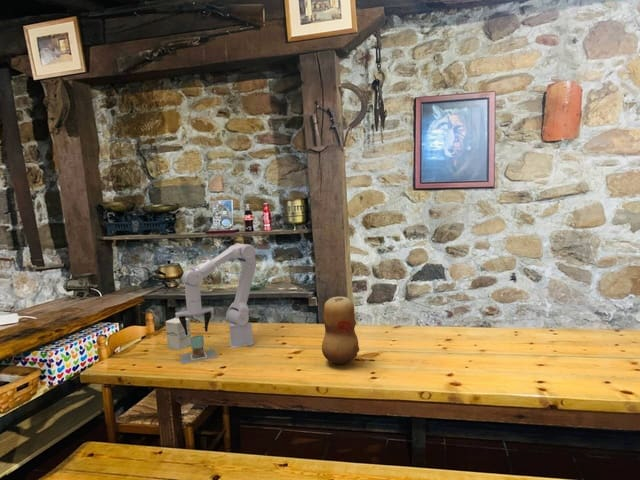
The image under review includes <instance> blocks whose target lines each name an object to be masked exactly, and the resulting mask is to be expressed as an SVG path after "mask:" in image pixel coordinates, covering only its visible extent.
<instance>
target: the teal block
mask: <svg viewBox="0 0 640 480" xmlns="http://www.w3.org/2000/svg"><path fill="white" fill-rule="evenodd" d="M204 340H205V339H204V335H202V334H201V335H197V334H196V335H193V336H191V339H190V342H191V345H190V348H191V350H192V349H194V348H202V346H203V347H204V346H205V341H204Z"/></svg>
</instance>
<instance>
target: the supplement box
mask: <svg viewBox="0 0 640 480" xmlns="http://www.w3.org/2000/svg"><path fill="white" fill-rule="evenodd" d="M185 318H186V325H187V332H188V335H186V334H185V330H184V327H183V325H182V324H181V322H180V320H179V318H178V319H176V317H174V318H171V319H168V320H166V321H165V329H166V331H165V332H166V343H167V349H171V350H175V351H181V350H184V349H186V348H188V347H191V342H190V339H191V338H192V333H191V323H190V321H191V319H190V318H189V317H188V318H187V317H185Z"/></svg>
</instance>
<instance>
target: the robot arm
mask: <svg viewBox="0 0 640 480" xmlns="http://www.w3.org/2000/svg"><path fill="white" fill-rule="evenodd" d="M256 253H257V251H256V249H255V247H253V246H252V244H247V243H239V242H238V243H234V244H233V245H230V246H229V247H228V248H226V250H224V251H222V252H221V253H220V254H218V255H217V256H215V257H214V258H212V259H211V260H210V259H203V260H201V263H200V264H197V265H196V266H192V267H191V269H187V270H185V271H184V272H183V274H182V276H181V282H182V283H183V284H184V293H185V303H186V310H182V311H179V312H175V318H176V319H178V318H179V320H180V322H181V324H182V325H183V327H184V330H185V334H186V335H188V332H187V325H186V318H187V317H188V318H189V317H193V316H200V315H203V320H204V331H205V332H208V328H209V323H210V320H211V318H212V314H214V307H202V299H201V298H202V297H201V286H200V284H201V282H202V280H204V279H205V278H206V277H208V276H209V275H212V274H213V273H214V272H215V271H216V269H217V267H218V266H220V265H222V264H224V263H225V262H227V261H229V260H231V259H236V260H238V262H240V264H241V265H242V270H241V271H240V277H239V280H238V285H237V287H236V288H237V289H236V292H235V293H236V294H235V298H234V301H233V302H232V303H231V304H230V305H229V307H228V309H227V311H226V313H225V318H226V321H228V324H229V326H228V327H229V335H230V341H228V343H229V345H230V347H231V348H232V349H234V348H239V347H245V346H246V347H247V346H253V345H254V336H253V335H254V334H253V326H252V323H251V322H249V319H250V317H249V311H250V309H249V306H248V304H247V303H248V301H249V296H250V291H251V287H252V283H253V279H254V275H255V271H256V268H257V261H256Z"/></svg>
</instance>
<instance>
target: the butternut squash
mask: <svg viewBox="0 0 640 480" xmlns="http://www.w3.org/2000/svg"><path fill="white" fill-rule="evenodd" d="M322 319H323V325H324V337H323V339H322V344H321V353H322V355H323V357H324V358H325V359H326V360H327V361H328V362H330V363H334V364H338V365H346V364H348V363H350V362H351V361H353V360H354V359H355V358H356V357H357V356H358V353H359V351H360V347H359V346H360V345H359V339H358V336H357V334H356V330H355V328H356V326H357V325H356V324H357V321H356V316H355V305H354V302H353V301H352V300H351V299H350V298H349V297H347V296H333V297H330V298H329V299H328V300H326V301H325V303H324V306H323V318H322Z"/></svg>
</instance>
